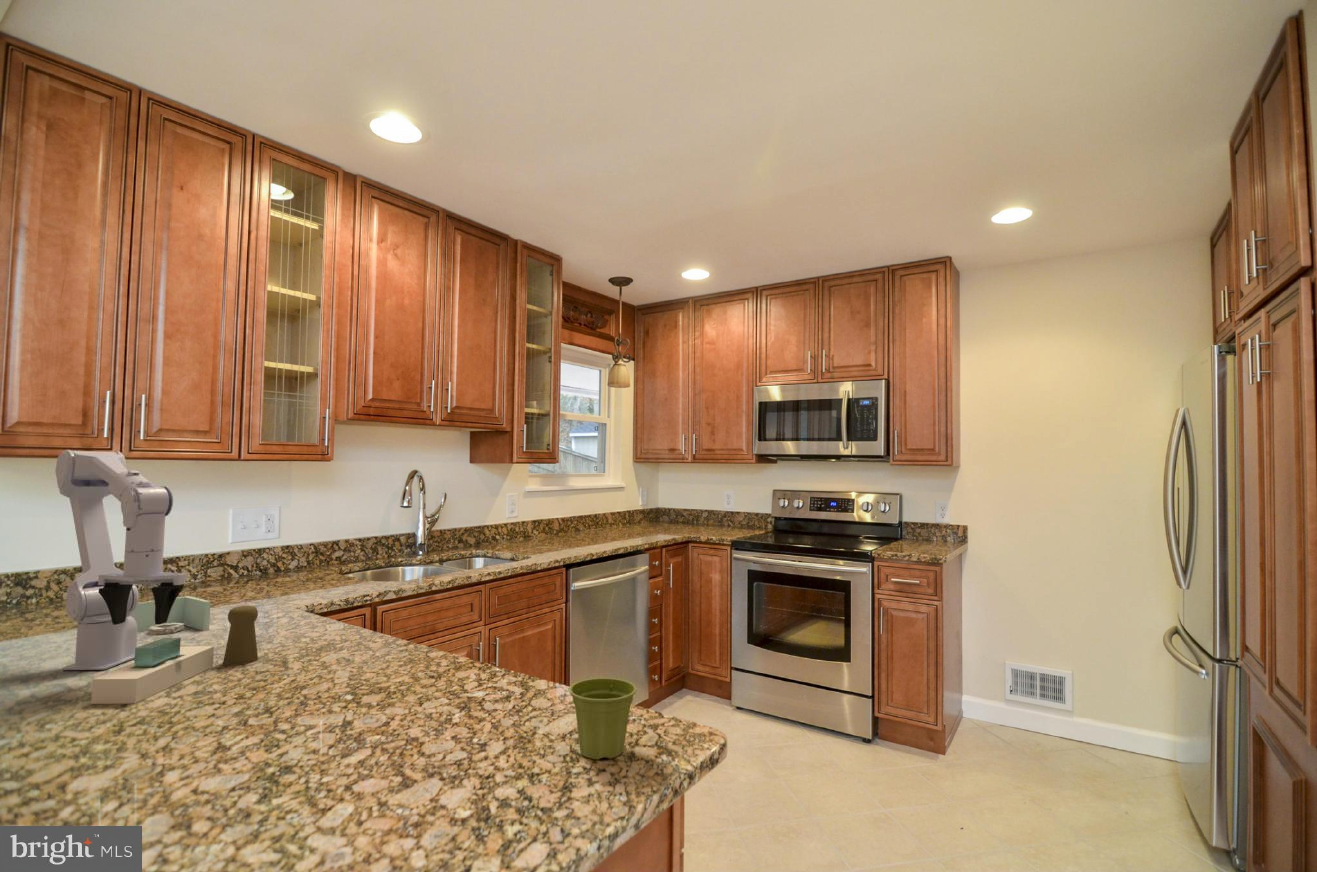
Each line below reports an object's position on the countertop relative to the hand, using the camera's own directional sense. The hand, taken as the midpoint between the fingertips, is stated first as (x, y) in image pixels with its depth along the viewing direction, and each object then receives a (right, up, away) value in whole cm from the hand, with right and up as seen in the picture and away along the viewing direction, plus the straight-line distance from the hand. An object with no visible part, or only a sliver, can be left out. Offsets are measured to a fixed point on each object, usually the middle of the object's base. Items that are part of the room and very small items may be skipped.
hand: (140, 623), depth 119 cm
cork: (+12, -11, +10) cm, 19 cm away
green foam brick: (+7, -8, -4) cm, 11 cm away
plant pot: (+90, -9, -30) cm, 95 cm away
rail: (+7, -10, -4) cm, 13 cm away
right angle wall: (-20, -13, +33) cm, 41 cm away
